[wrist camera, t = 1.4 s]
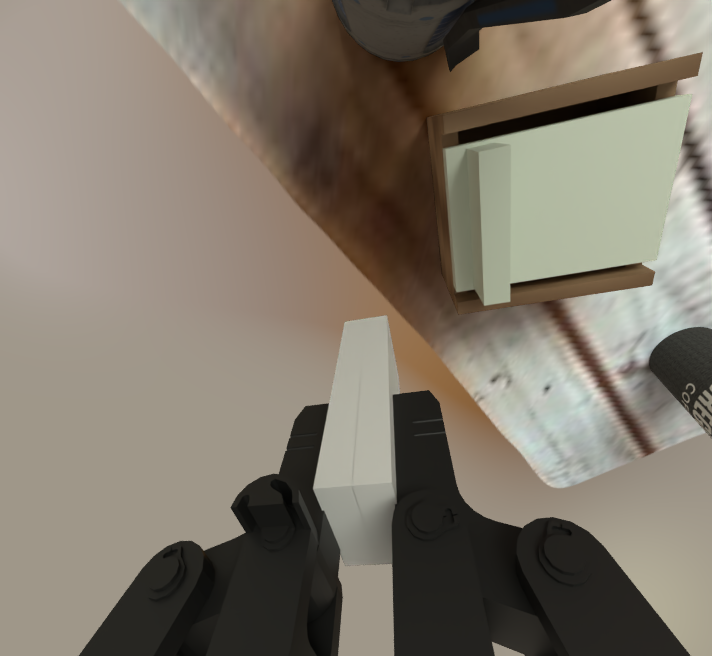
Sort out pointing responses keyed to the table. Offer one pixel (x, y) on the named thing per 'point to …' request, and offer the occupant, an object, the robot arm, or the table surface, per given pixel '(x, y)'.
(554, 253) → the lid
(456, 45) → the beverage bottle
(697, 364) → the coffee cup
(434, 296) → the table surface
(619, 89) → the box
